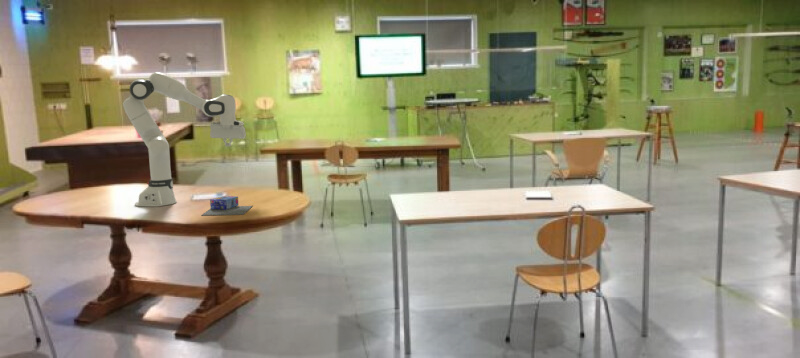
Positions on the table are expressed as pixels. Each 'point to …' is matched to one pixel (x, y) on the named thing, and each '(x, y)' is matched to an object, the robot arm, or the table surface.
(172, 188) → the robot arm
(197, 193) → the table surface
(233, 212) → the mat
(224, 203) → the ink cartridge box
